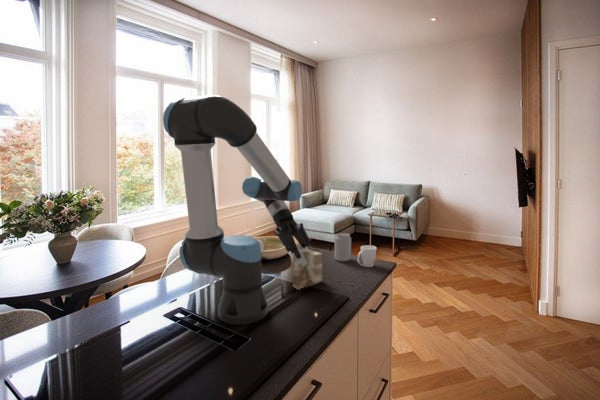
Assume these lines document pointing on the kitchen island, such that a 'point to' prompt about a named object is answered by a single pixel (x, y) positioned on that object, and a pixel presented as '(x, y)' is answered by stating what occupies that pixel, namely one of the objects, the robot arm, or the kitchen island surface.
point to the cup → (367, 255)
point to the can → (342, 247)
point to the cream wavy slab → (311, 264)
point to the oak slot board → (301, 278)
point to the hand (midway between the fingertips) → (309, 263)
